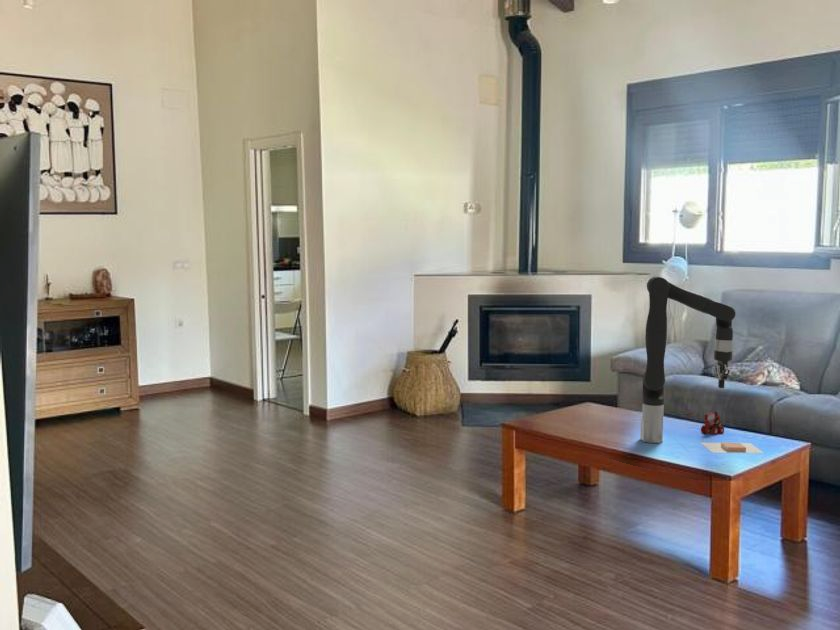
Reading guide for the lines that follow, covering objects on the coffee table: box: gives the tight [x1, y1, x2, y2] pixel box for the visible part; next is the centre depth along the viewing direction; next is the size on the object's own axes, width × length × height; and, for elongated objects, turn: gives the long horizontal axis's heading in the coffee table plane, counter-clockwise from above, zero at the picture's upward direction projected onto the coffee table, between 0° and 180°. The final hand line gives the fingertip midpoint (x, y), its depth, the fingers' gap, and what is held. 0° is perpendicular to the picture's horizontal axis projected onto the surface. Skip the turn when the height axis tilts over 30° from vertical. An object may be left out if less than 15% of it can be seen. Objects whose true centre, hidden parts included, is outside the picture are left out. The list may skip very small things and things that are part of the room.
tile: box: [720, 442, 746, 451], centre depth 343 cm, size 8×2×8 cm
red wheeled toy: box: [700, 411, 725, 435], centre depth 372 cm, size 7×12×10 cm, turn 129°
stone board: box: [700, 442, 764, 454], centre depth 345 cm, size 22×16×1 cm
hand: (721, 387), depth 352 cm, fingers closed
